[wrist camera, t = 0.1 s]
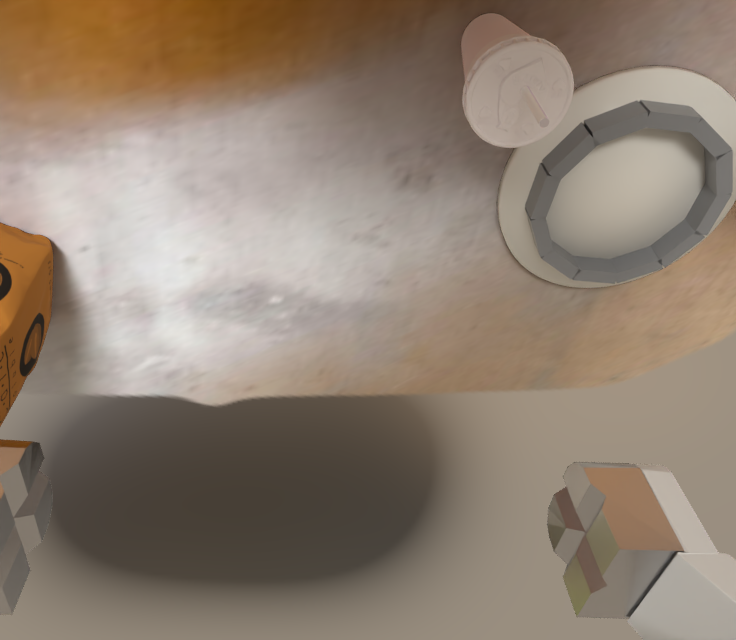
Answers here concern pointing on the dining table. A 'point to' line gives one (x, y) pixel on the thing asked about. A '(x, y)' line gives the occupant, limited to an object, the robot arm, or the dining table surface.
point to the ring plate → (622, 178)
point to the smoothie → (512, 82)
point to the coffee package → (22, 307)
